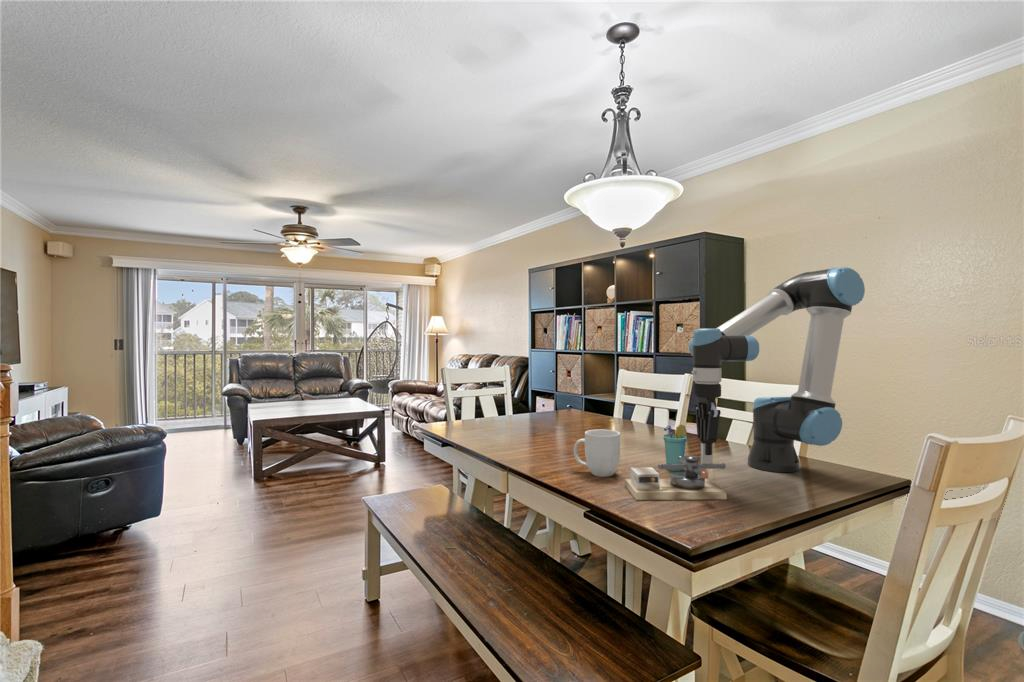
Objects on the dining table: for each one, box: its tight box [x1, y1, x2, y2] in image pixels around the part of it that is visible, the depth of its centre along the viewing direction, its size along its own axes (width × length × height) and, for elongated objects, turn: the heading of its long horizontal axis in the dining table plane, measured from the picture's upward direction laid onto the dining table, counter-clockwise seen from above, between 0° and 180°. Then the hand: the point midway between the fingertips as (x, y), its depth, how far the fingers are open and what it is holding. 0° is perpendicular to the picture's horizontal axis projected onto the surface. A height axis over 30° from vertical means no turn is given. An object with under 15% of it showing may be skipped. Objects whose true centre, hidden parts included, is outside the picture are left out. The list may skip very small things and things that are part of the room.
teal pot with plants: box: [662, 424, 688, 472], centre depth 157 cm, size 14×8×15 cm, turn 140°
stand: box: [624, 466, 728, 501], centre depth 134 cm, size 24×12×6 cm, turn 91°
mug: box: [573, 428, 621, 478], centre depth 153 cm, size 15×11×13 cm
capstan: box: [657, 454, 727, 489], centre depth 134 cm, size 19×19×7 cm
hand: (706, 465), depth 138 cm, fingers closed
